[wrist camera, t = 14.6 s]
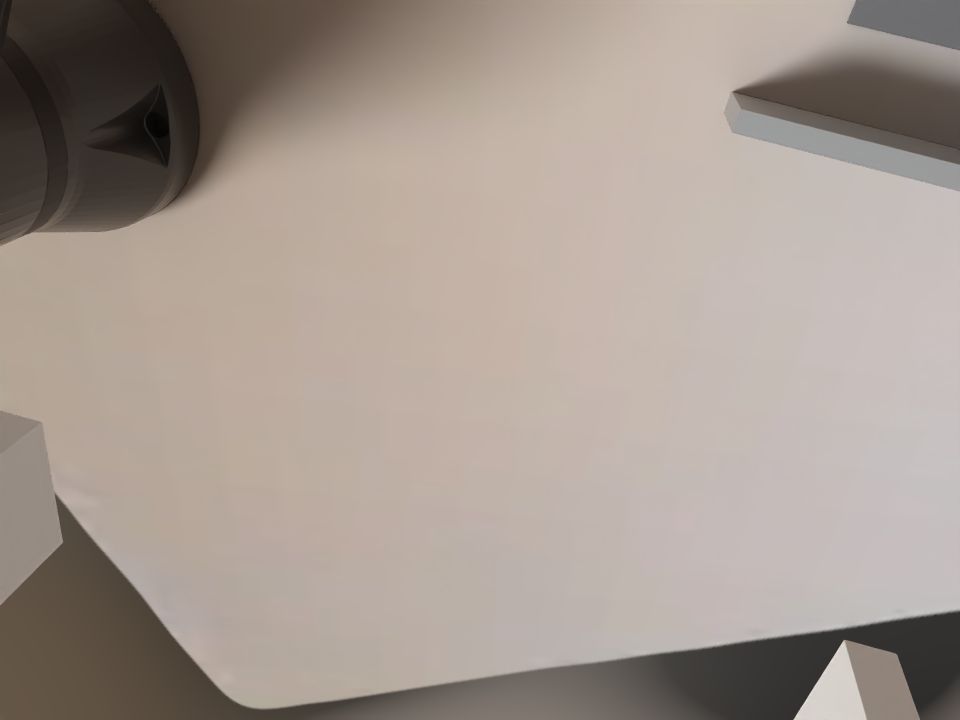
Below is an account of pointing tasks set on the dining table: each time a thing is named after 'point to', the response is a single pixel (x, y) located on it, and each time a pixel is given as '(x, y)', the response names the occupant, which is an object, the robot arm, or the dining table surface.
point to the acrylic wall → (844, 140)
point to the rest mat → (912, 19)
